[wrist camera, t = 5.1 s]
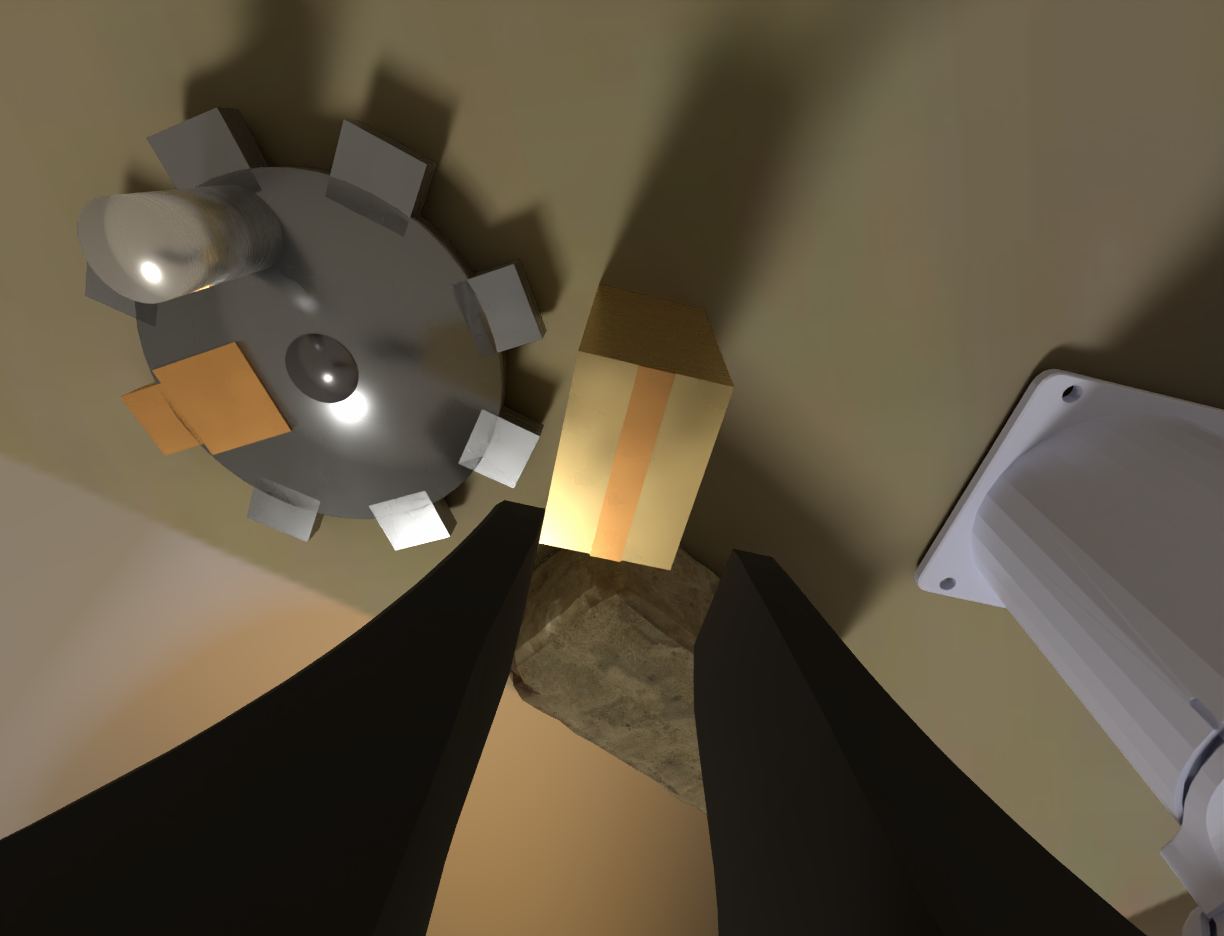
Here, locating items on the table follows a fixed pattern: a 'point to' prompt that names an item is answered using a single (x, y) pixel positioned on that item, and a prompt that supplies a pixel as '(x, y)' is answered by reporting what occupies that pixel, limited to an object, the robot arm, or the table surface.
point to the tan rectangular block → (636, 429)
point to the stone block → (619, 659)
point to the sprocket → (314, 328)
